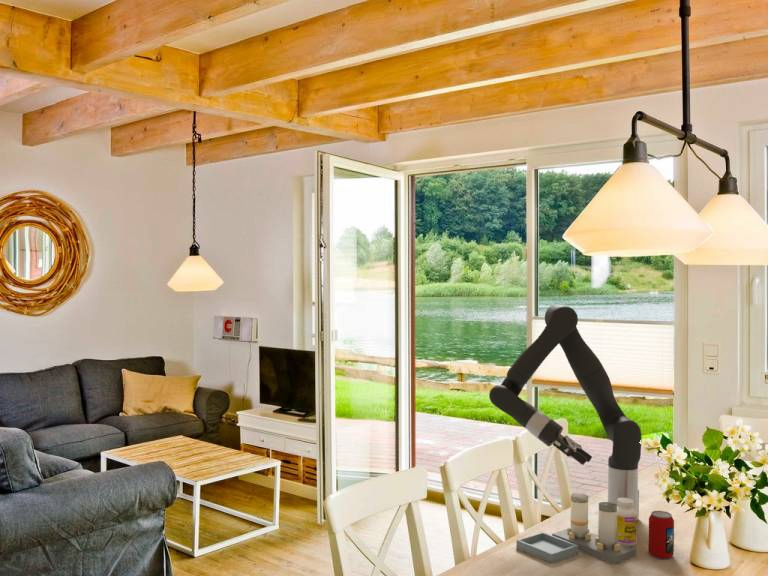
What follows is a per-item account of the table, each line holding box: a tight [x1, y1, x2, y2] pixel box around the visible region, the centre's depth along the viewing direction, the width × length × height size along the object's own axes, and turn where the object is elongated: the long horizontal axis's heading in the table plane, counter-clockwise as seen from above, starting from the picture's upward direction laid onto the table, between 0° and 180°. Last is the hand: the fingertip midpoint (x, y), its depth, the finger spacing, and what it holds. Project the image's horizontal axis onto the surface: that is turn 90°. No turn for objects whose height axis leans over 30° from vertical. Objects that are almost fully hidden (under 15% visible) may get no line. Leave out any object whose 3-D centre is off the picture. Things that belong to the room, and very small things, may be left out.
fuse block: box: [551, 526, 637, 565], centre depth 213 cm, size 10×22×4 cm, turn 36°
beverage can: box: [647, 510, 675, 560], centre depth 207 cm, size 7×7×12 cm
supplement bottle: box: [617, 498, 638, 547], centre depth 217 cm, size 7×7×13 cm
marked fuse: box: [569, 492, 589, 539], centre depth 217 cm, size 5×5×12 cm
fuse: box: [597, 501, 617, 550], centre depth 209 cm, size 5×5×12 cm
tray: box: [515, 531, 579, 564], centre depth 210 cm, size 11×13×2 cm
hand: (587, 461), depth 222 cm, fingers open, 8 cm apart
